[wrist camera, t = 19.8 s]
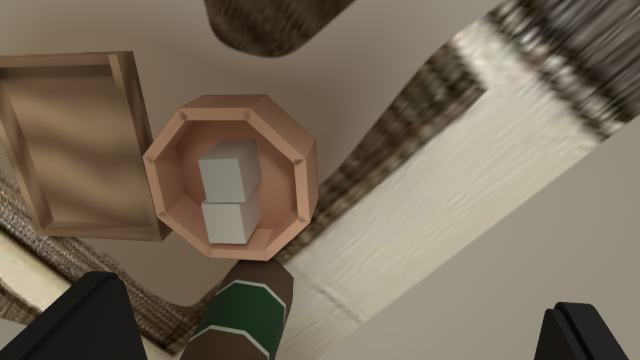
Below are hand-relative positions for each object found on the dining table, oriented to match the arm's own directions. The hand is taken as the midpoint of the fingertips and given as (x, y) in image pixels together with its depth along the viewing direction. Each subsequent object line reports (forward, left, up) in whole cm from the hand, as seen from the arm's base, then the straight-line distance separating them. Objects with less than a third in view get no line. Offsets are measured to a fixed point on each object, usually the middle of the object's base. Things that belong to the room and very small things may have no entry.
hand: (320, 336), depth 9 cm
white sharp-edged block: (+11, -13, -28) cm, 32 cm away
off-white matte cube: (+7, -12, -28) cm, 31 cm away
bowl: (+8, -12, -28) cm, 32 cm away
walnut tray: (+6, -29, -28) cm, 41 cm away
